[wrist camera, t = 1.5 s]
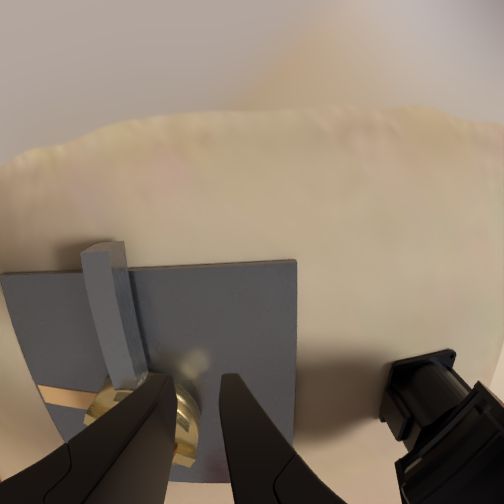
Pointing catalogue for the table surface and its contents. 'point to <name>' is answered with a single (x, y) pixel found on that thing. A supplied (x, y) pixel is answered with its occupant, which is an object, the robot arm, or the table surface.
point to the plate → (170, 341)
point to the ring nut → (127, 344)
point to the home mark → (67, 397)
